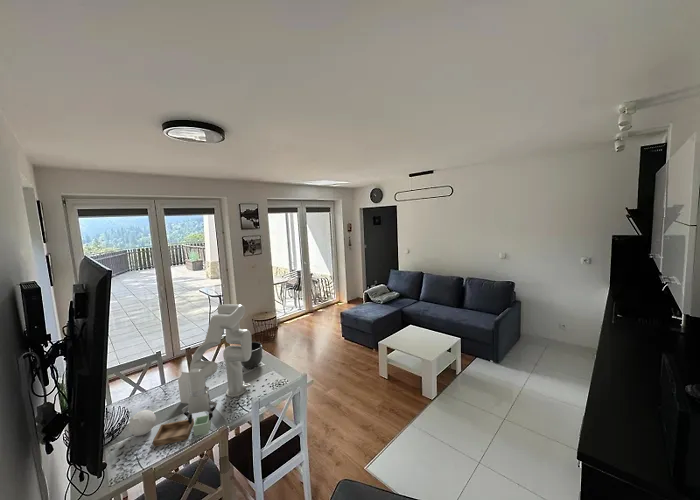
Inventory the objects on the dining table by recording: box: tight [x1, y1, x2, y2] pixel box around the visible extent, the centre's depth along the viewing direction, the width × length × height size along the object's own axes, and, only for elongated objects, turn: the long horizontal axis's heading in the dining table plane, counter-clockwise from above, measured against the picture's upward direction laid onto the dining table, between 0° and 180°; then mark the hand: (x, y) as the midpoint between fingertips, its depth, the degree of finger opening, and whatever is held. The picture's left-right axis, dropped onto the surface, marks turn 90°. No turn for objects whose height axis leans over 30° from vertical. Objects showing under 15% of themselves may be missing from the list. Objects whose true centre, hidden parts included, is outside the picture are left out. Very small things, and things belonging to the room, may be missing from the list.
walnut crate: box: [152, 417, 195, 448], centre depth 154 cm, size 16×12×3 cm
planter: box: [241, 341, 263, 370], centre depth 220 cm, size 17×17×16 cm
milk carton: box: [177, 371, 190, 405], centre depth 182 cm, size 7×7×19 cm
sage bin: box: [192, 414, 212, 437], centre depth 157 cm, size 7×7×6 cm
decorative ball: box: [128, 409, 157, 437], centre depth 156 cm, size 12×12×12 cm
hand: (200, 420), depth 156 cm, fingers open, 9 cm apart
